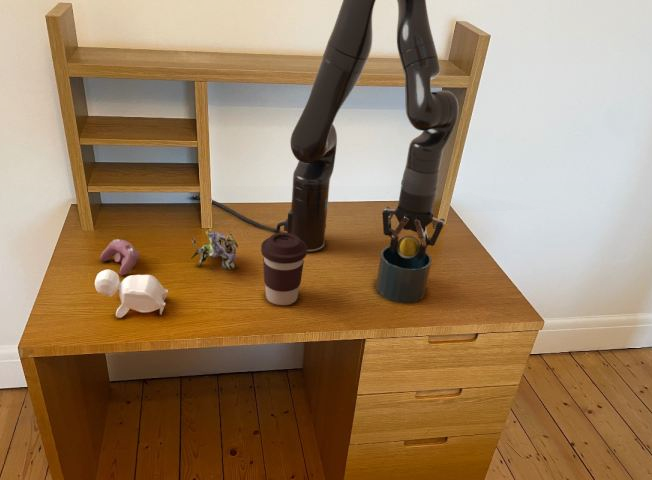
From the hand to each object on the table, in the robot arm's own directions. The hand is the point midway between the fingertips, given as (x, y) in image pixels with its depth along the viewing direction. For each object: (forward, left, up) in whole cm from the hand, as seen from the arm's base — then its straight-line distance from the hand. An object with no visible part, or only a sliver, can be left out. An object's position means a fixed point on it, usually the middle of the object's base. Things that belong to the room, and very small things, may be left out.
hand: (406, 254), depth 135 cm
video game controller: (-64, -21, -10) cm, 68 cm away
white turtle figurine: (-51, -34, -10) cm, 62 cm away
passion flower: (-44, -11, -10) cm, 46 cm away
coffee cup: (-24, -16, -10) cm, 30 cm away
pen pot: (0, 0, -9) cm, 9 cm away
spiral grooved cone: (0, 0, -1) cm, 1 cm away
